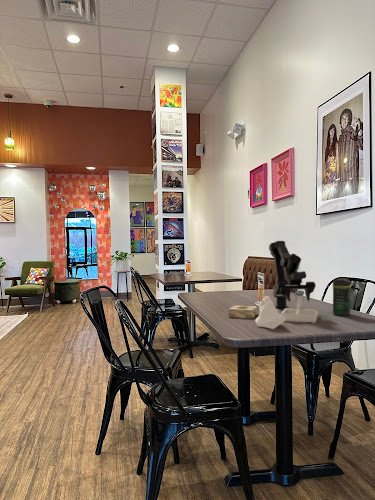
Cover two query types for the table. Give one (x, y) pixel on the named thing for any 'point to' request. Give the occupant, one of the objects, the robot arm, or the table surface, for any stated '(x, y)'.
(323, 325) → the table surface
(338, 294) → the coffee jar
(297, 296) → the steel pin
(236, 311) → the block
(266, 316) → the white tetrapod block
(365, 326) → the table surface
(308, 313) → the tray
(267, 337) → the table surface
